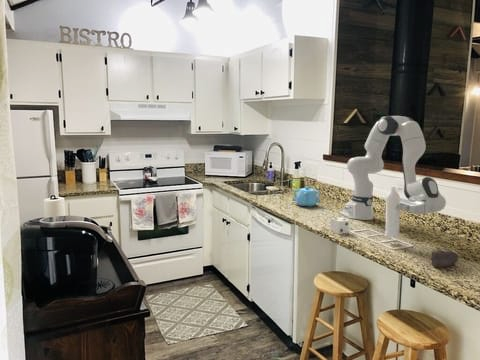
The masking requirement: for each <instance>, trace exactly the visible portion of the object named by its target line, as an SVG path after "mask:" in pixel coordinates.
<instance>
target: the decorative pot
mask: <svg viewBox="0 0 480 360" xmlns="http://www.w3.org/2000/svg"><path fill="white" fill-rule="evenodd" d="M297 191H298V192H297ZM296 192H297V194H296ZM317 194H318V196H317ZM293 195H294V197H293V198H292V200H293V201H294V202H296V204H297V205H298V206H299V207H303V206H304V207H308V208H312V207H313V206H315V205H317V204H318V203H321V199H320V196H321V192H320V191H319V190H315V189H313V188H310V186H304V187H302V188H299V189H298V188H296V189H295V190H294V191H293Z"/></svg>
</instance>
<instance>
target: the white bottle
mask: <svg viewBox="0 0 480 360" xmlns="http://www.w3.org/2000/svg"><path fill="white" fill-rule="evenodd" d="M398 191H404V187H396V186H395V187H394V186H391V187H390V189H389V191H388V193H387V194H386V196H385V233H384V234H385V235H386V236H387V237H386V236H385V237H386V238H388V237H392V238H395V239H396V238H399V237H400V219H401V218H400V215H401V213H400V212H401V210H398V209H396V206H397V205H400V198H401V196H400V195H399V193H398Z"/></svg>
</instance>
